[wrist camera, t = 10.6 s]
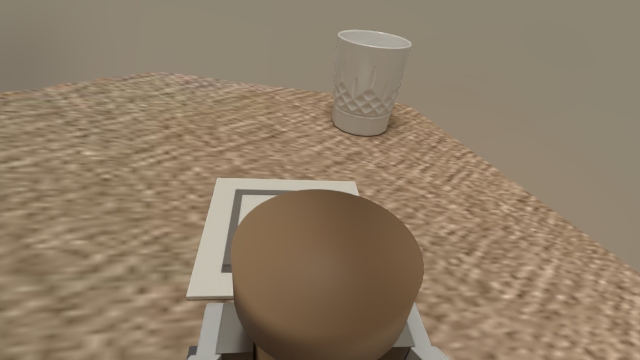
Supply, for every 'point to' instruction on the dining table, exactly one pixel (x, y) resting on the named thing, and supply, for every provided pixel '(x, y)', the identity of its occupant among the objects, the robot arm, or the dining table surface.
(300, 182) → the print card
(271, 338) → the stamp
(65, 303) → the dining table surface
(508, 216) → the dining table surface
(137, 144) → the dining table surface
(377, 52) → the white cup
